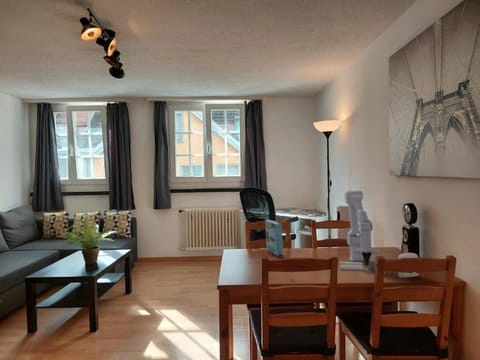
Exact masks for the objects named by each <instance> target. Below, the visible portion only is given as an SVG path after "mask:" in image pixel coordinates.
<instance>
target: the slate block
mask: <svg viewBox="0 0 480 360" xmlns="http://www.w3.org/2000/svg"><path fill="white" fill-rule="evenodd" d="M375 262H377V260H370V259H369V263H368V268H369V270H376V269H375Z"/></svg>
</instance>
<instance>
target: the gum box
mask: <svg viewBox="0 0 480 360" xmlns="http://www.w3.org/2000/svg"><path fill="white" fill-rule="evenodd" d="M264 225H265V239H266V240H265V241H266V243H265V244H266V251H267V250H269V251H271V252H272V253H274V254H276V255H283V256H284V247H283V245H284V244H283V229H282V222H280V221H279V222H278V221H275V220H273V219H266V220H264ZM272 253H271V254H272Z"/></svg>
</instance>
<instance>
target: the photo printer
mask: <svg viewBox="0 0 480 360" xmlns="http://www.w3.org/2000/svg"><path fill="white" fill-rule="evenodd" d="M401 258H418V259H419V256H418V254H416V253H414V252H413V253H412V252H404V253H401V254H399V255H398V256H397V260H398V259H401ZM419 276H420V272H419V273H416V272H413V273H399V272H398V277H399V278H413V277H419Z"/></svg>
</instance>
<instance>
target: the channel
mask: <svg viewBox="0 0 480 360" xmlns="http://www.w3.org/2000/svg"><path fill="white" fill-rule="evenodd" d="M339 270H352V271H353V270H354V271H364V270H365V269H364V264H363V262H362V261H340V262H339Z"/></svg>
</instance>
